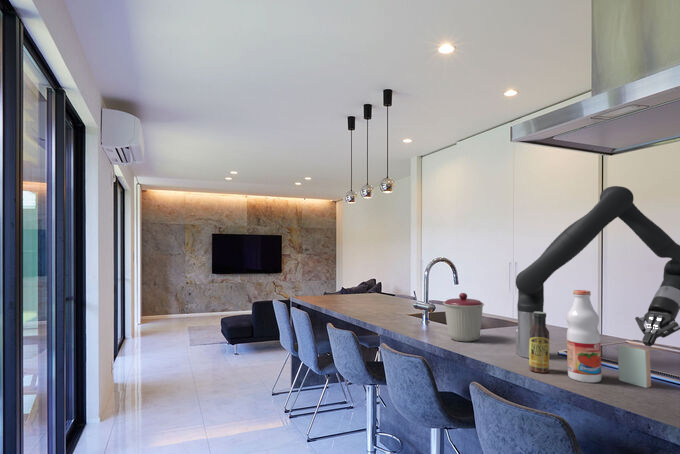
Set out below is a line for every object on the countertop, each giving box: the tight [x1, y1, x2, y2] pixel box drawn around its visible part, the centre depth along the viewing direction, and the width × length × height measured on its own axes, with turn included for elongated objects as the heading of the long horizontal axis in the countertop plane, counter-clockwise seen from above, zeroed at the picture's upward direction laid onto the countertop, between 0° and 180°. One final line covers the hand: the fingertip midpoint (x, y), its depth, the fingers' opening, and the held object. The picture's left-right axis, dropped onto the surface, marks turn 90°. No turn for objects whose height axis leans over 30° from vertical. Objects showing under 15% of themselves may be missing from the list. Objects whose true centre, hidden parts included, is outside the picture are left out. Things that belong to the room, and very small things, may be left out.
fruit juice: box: [566, 289, 602, 384], centre depth 136 cm, size 9×9×28 cm
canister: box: [442, 292, 485, 343], centre depth 193 cm, size 18×18×21 cm
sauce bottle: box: [528, 311, 550, 374], centre depth 144 cm, size 7×6×20 cm
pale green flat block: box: [617, 343, 652, 389], centre depth 131 cm, size 8×2×11 cm, turn 26°
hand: (646, 344), depth 134 cm, fingers closed
